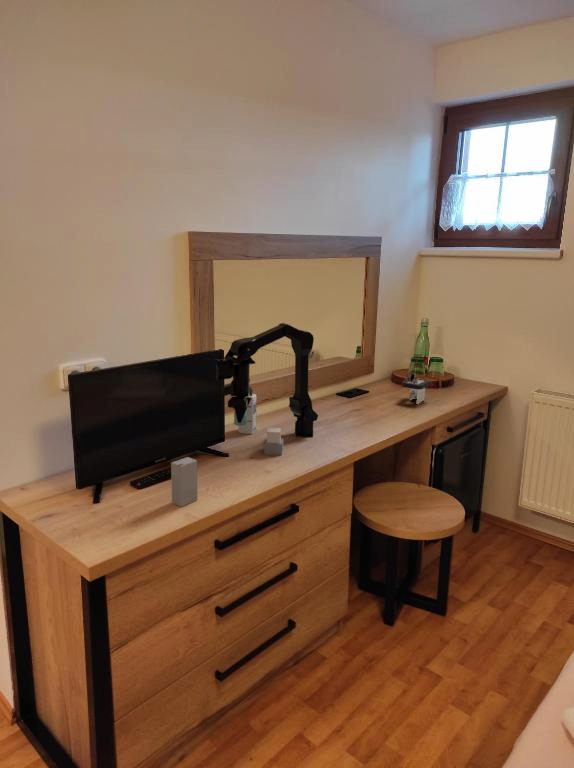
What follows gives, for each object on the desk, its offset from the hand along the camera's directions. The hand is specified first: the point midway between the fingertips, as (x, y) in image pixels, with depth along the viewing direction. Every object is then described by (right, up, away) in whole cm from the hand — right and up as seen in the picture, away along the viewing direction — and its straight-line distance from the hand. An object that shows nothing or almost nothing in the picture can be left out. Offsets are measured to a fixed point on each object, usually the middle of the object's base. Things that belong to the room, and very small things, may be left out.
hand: (240, 420), depth 202 cm
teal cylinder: (0, -1, 0) cm, 1 cm away
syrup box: (+1, -6, +19) cm, 20 cm away
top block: (+12, -7, -2) cm, 14 cm away
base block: (+12, -11, -1) cm, 16 cm away
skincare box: (-12, -20, -42) cm, 48 cm away
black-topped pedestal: (+75, +4, +67) cm, 101 cm away
